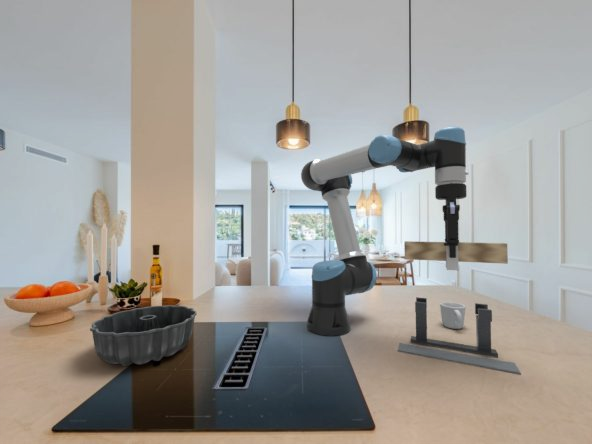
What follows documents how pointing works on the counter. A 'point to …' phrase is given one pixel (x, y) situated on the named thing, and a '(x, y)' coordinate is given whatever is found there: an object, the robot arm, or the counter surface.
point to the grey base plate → (459, 358)
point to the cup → (452, 314)
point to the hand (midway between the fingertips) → (451, 268)
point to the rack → (482, 343)
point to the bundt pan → (142, 334)
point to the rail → (465, 251)
